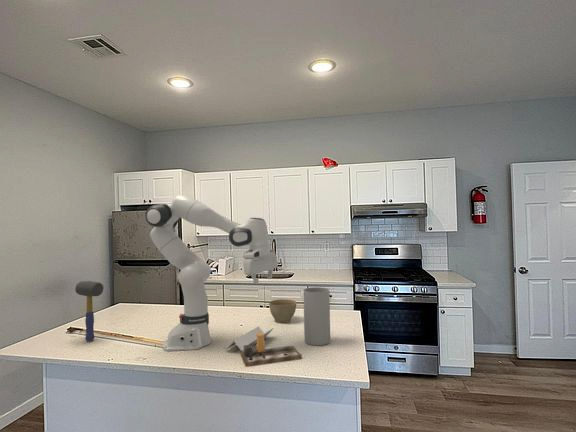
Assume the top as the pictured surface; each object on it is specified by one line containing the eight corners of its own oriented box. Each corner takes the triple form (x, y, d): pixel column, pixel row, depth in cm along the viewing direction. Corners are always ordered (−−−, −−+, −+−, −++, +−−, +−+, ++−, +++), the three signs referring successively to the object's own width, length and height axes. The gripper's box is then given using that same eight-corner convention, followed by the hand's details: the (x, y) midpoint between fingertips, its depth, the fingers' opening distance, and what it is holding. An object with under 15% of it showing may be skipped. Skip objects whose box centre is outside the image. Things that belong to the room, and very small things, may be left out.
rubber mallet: (74, 342, 171) (73, 281, 172) (87, 337, 178) (87, 279, 179) (92, 345, 167) (91, 283, 167) (105, 340, 174) (104, 280, 174)
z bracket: (233, 360, 153) (225, 349, 155) (258, 343, 176) (250, 334, 178) (251, 342, 150) (242, 331, 152) (273, 328, 174) (265, 318, 175)
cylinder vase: (303, 345, 161) (302, 292, 161) (305, 336, 173) (305, 287, 174) (329, 346, 159) (328, 292, 159) (330, 337, 171) (329, 287, 172)
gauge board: (245, 366, 139) (245, 354, 139) (240, 355, 150) (240, 344, 150) (301, 358, 146) (301, 346, 146) (293, 348, 157) (292, 337, 157)
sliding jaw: (260, 358, 142) (260, 339, 142) (256, 350, 150) (256, 332, 151) (267, 357, 143) (267, 338, 143) (262, 349, 151) (262, 332, 151)
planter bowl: (287, 326, 191) (287, 306, 191) (263, 322, 199) (263, 303, 199) (301, 319, 204) (301, 300, 205) (279, 315, 213) (278, 298, 213)
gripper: (269, 248, 172) (272, 276, 172) (240, 254, 156) (242, 285, 156) (279, 248, 168) (282, 276, 168) (250, 254, 152) (253, 286, 152)
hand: (263, 280), depth 162 cm, fingers open, 8 cm apart
